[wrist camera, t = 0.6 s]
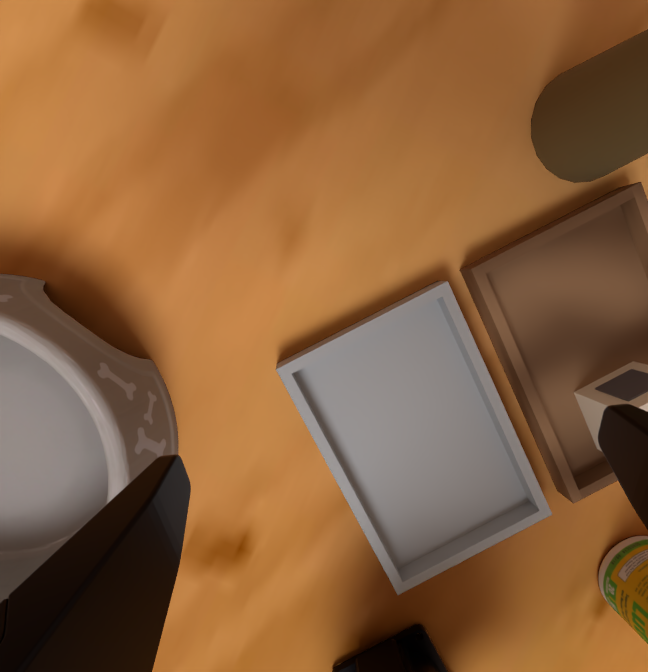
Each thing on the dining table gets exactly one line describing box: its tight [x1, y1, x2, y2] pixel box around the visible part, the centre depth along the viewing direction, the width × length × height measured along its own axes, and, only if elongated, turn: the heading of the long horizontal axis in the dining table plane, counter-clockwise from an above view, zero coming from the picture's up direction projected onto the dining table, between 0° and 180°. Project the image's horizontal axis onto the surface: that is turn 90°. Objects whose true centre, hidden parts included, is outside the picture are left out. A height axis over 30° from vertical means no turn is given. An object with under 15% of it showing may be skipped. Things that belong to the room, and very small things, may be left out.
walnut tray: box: [460, 182, 648, 503], centre depth 24 cm, size 15×10×2 cm
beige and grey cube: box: [574, 361, 648, 451], centre depth 23 cm, size 4×4×4 cm
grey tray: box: [276, 281, 552, 595], centre depth 24 cm, size 15×10×2 cm
